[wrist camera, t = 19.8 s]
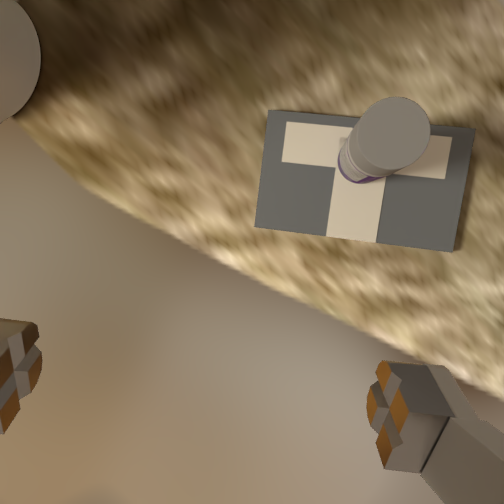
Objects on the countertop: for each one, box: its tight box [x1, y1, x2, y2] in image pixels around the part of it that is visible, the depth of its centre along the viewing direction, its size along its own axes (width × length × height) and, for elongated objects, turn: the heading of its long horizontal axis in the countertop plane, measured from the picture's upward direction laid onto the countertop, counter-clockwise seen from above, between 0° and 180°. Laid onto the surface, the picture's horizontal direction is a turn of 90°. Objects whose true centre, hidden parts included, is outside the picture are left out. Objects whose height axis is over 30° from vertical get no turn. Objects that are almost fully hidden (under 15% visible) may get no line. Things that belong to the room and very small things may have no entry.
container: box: [338, 97, 431, 184], centre depth 32 cm, size 5×5×15 cm
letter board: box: [254, 110, 476, 252], centre depth 40 cm, size 20×12×1 cm, turn 83°
